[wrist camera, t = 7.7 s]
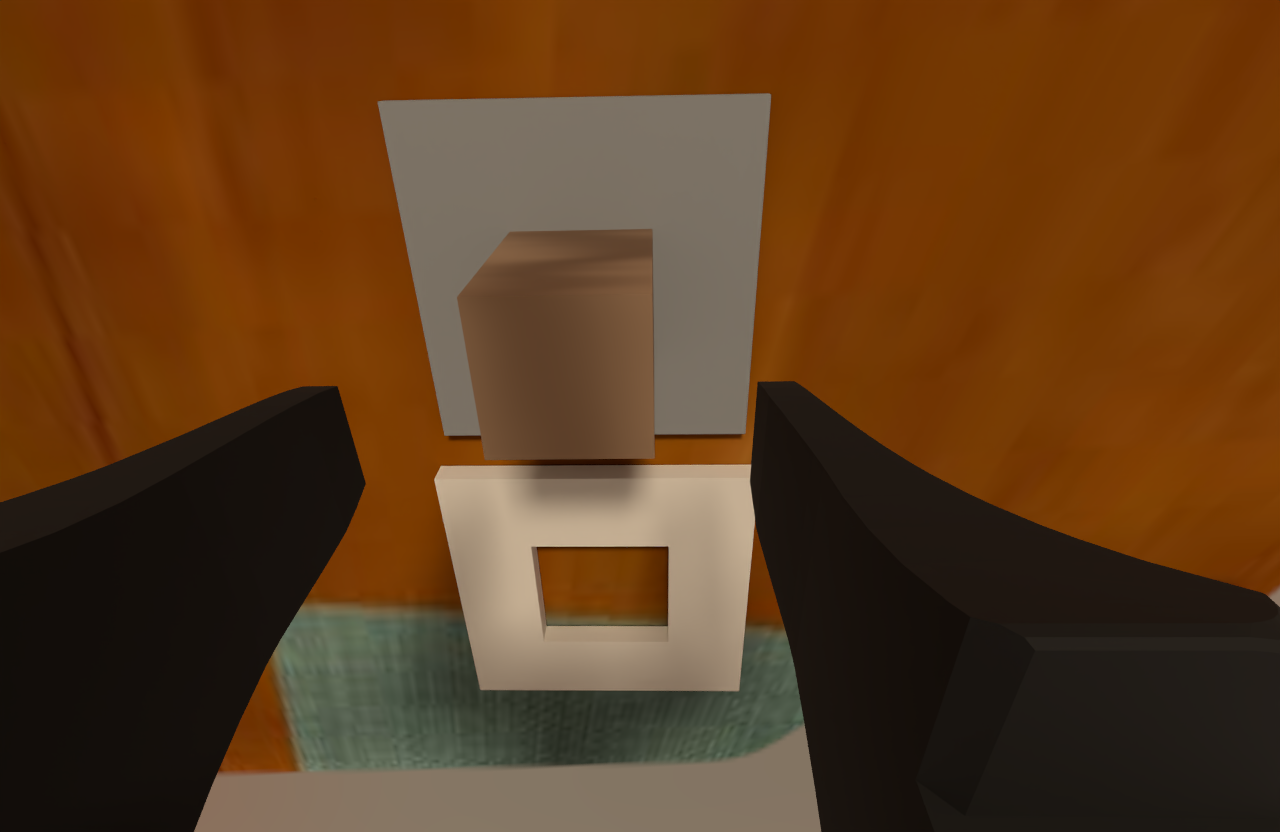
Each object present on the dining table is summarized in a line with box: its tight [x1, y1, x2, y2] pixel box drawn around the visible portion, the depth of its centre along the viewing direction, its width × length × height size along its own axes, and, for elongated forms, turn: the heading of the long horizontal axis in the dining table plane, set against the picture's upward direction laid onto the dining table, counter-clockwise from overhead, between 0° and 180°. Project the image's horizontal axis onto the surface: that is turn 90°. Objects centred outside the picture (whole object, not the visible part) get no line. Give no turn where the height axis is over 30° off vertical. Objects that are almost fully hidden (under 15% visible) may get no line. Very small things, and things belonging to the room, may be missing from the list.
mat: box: [378, 94, 771, 436], centre depth 19 cm, size 10×10×1 cm
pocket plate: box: [434, 465, 755, 691], centre depth 24 cm, size 11×11×1 cm
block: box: [457, 229, 655, 460], centre depth 16 cm, size 4×4×6 cm
